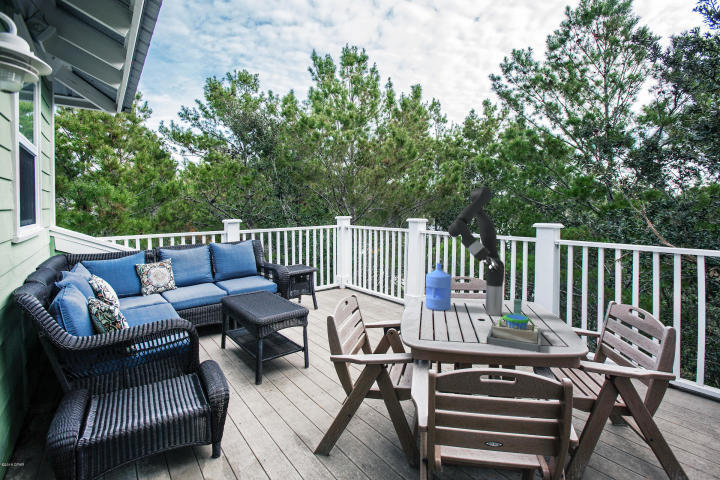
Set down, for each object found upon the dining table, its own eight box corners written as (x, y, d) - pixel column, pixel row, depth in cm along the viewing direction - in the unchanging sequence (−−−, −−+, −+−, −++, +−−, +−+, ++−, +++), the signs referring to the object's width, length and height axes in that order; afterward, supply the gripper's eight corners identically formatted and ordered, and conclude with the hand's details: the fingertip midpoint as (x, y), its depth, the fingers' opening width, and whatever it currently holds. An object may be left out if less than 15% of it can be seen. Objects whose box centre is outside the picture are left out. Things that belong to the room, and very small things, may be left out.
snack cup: (533, 335, 178) (534, 315, 177) (534, 343, 168) (535, 321, 167) (499, 331, 184) (499, 312, 183) (498, 338, 174) (498, 317, 174)
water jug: (431, 303, 240) (432, 261, 238) (454, 306, 231) (455, 263, 229) (421, 308, 228) (421, 264, 225) (444, 312, 218) (445, 266, 216)
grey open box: (497, 323, 196) (498, 297, 195) (537, 329, 187) (538, 301, 186) (492, 336, 176) (493, 307, 174) (537, 343, 167) (538, 312, 166)
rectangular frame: (493, 327, 190) (493, 322, 190) (540, 334, 180) (540, 328, 180) (486, 343, 167) (486, 337, 167) (540, 352, 157) (540, 345, 157)
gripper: (481, 247, 184) (505, 271, 180) (485, 245, 196) (507, 267, 192) (470, 257, 187) (493, 281, 182) (475, 254, 199) (496, 276, 195)
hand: (500, 274), depth 187 cm, fingers open, 8 cm apart
